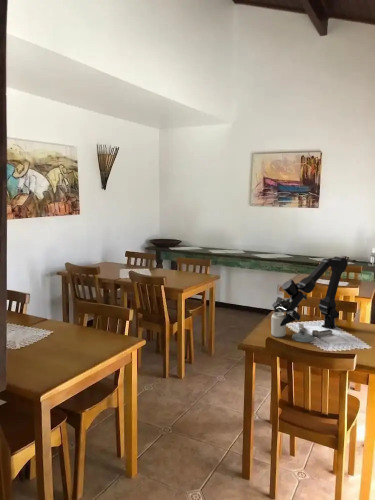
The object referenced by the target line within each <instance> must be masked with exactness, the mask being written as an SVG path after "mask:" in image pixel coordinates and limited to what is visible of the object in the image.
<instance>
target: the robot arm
mask: <svg viewBox="0 0 375 500" xmlns="http://www.w3.org/2000/svg"><path fill="white" fill-rule="evenodd" d="M348 263H349V261H348V260H347V258H344V257H341V256H333V257H329V258H328V257H327V258H325V257H324V258H323V259H321V262H319V264H318V265H317V266H316V267H315V268H314V269H313V271H312V272H311V273H310V274H309V275H308V276H306V277H304V278H302V279H301V280H300V281H299V282H297V283H295V281H294V280H293V279H292V278H291V279H289V280H286V281H285V282H283V283H282V285H281V289H282V290H283V291H284V292H285V293H286V294H287V295H288V296H290V297H285V298H282V297H279V296H277V297H276V300H275V302H273V303H272V304H271V306H272V307H273V310H274V312H282V313H284V314H285V316H286V317H285V318H284V320H283V321H282V322H281V324H280V326H284V325H286V326H287V325H288V324H290V323H292V322H297V321H298V322H299V321H300V320H301V318H302V317H301V314H300V313H298V311H297V310H296V309H299V307H300V306H299V305H300V303H301V302H302V301H303V300H305V301H307V300H308V297H307V294H310V293H312V292H313V291H314V289H315V286H316V283H317V281H319V280H320V278H322V277H323V275H324V274H325V272H326V271H327V270H329V268H330V269H331V274H330V279H329V282H328V286H327V289H326V293H325V296H324V298H321V299H319V304H318V310H319V311H320V314H321V315H323V317H324V319H323V322H324V323H323V324H322V325H321V328H322V327H323V328H327V329H329V330H334V329H335V328H338V325H337V324H336V319H337V318H339V317H340V313H339V311H338V310H337V309H336V307H337V303H336V299H335V298H336V295H337V292H338V288H339V284H340V280H341V276H342V274H343V273H344V272H345V271H346V269H347V267H348ZM305 293H306V294H305ZM274 312H273V313H274Z"/></svg>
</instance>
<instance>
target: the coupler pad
mask: <svg viewBox="0 0 375 500" xmlns="http://www.w3.org/2000/svg"><path fill="white" fill-rule="evenodd" d="M291 338H292V340H293V341H294V342H295V341H296V342H297V343H298V342H299V343H312V342H313V341H314V340H315V338H314V336H313V335H312V333H306V332H305V333H299V332H296V333H293V334H292V335H291Z"/></svg>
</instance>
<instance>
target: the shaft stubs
mask: <svg viewBox="0 0 375 500" xmlns="http://www.w3.org/2000/svg"><path fill="white" fill-rule="evenodd" d="M298 330H299V331H298V333H306V327H304V323H298ZM311 335H313V336H314V337H317V338H321V336H322V337H326V336H327V335H329V336H333V329H326V330H316V329H313V330H312V333H311ZM327 337H328V336H327Z"/></svg>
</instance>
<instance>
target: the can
mask: <svg viewBox="0 0 375 500" xmlns="http://www.w3.org/2000/svg"><path fill="white" fill-rule="evenodd" d="M285 317H286V313H285V312H283V313H282V312H273V313H272V315H271V319H270V322H271V323H270V324H271V330H270V331H271V336H273V337H275V338H284V337H285V336H286V334H287V333H286V329H287V324H286V325H284V326H280V324H281V322H282V321H283V320H284V318H285Z"/></svg>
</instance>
